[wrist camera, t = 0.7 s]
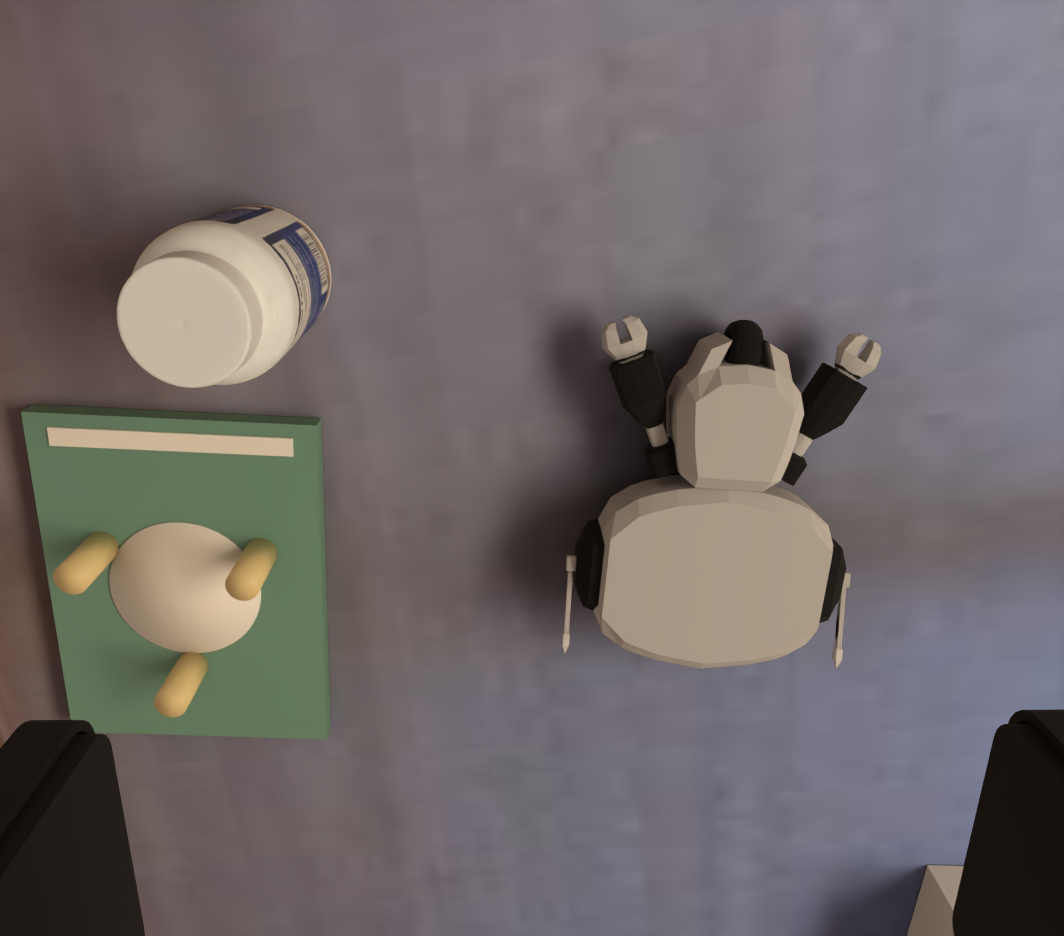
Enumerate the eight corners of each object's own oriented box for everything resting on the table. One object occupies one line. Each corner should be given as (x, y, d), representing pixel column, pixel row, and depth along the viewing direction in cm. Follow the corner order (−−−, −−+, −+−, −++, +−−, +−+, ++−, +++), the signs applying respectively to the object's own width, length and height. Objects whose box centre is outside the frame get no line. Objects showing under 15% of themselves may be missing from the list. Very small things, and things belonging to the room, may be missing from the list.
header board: (33, 404, 37) (-21, 436, 33) (321, 417, 37) (300, 450, 34) (81, 718, 43) (41, 775, 39) (330, 725, 43) (314, 782, 39)
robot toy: (585, 300, 37) (554, 621, 41) (596, 314, 33) (560, 670, 37) (869, 321, 37) (809, 635, 42) (917, 338, 33) (845, 685, 38)
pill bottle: (180, 304, 35) (68, 366, 26) (223, 179, 34) (119, 199, 25) (306, 360, 36) (240, 438, 27) (354, 241, 35) (300, 282, 26)
